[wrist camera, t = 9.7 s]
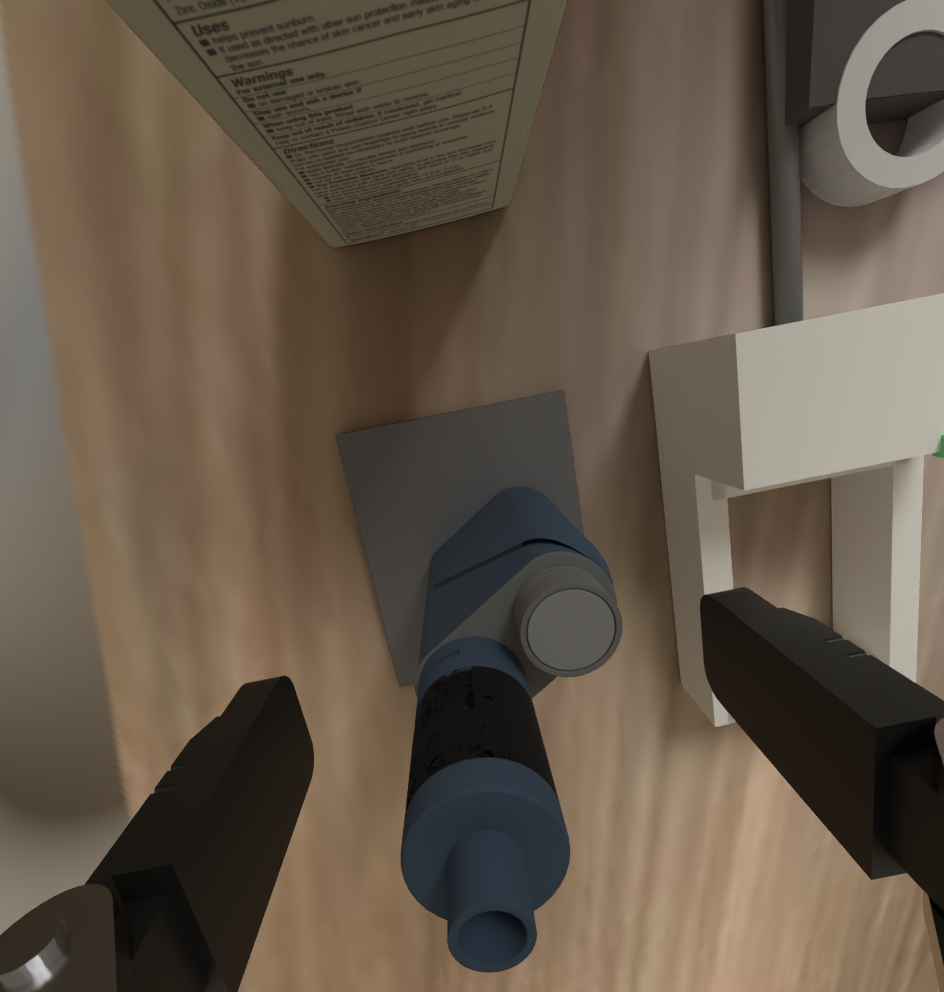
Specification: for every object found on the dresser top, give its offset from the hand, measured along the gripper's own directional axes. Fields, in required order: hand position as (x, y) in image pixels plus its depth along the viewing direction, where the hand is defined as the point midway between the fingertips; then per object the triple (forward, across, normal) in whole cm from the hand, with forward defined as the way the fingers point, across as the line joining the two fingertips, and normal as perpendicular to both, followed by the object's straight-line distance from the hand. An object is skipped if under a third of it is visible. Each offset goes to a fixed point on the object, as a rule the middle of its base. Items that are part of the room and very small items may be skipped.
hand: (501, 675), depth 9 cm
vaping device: (+8, 0, 0) cm, 8 cm away
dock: (+9, -11, -4) cm, 14 cm away
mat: (+9, 0, 0) cm, 9 cm away
